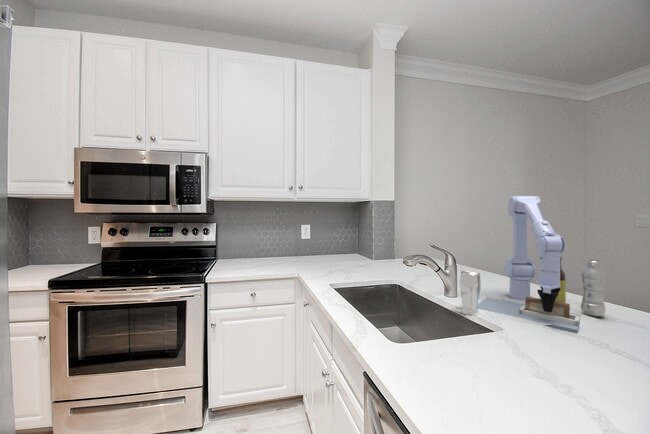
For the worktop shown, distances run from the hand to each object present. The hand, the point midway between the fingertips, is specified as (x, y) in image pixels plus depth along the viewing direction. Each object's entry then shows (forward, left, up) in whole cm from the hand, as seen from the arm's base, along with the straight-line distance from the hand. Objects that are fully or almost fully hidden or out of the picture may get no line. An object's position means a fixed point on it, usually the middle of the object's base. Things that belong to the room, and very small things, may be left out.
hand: (548, 309), depth 101 cm
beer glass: (+12, -22, -4) cm, 25 cm away
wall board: (-1, -7, -4) cm, 8 cm away
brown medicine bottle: (-20, 0, -4) cm, 20 cm away
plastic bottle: (-16, +11, -4) cm, 20 cm away
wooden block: (0, 0, -3) cm, 3 cm away
